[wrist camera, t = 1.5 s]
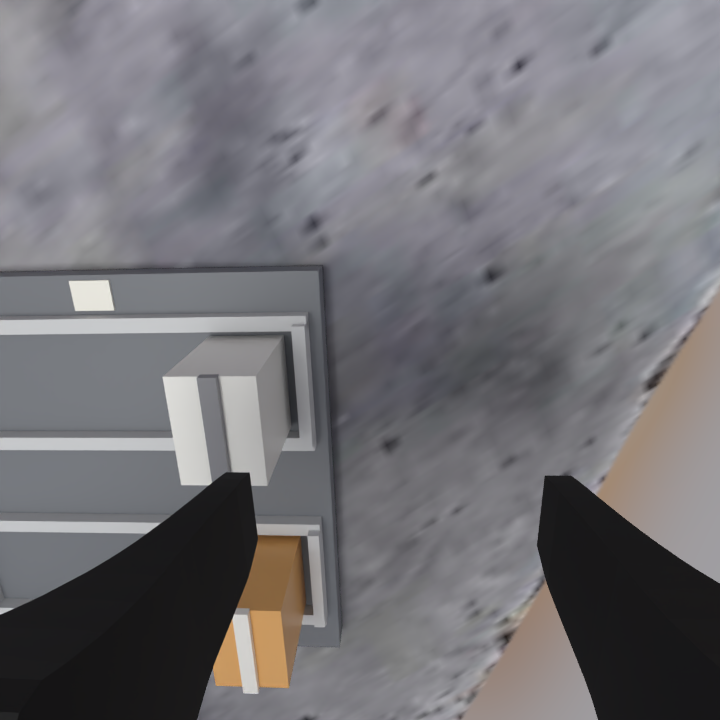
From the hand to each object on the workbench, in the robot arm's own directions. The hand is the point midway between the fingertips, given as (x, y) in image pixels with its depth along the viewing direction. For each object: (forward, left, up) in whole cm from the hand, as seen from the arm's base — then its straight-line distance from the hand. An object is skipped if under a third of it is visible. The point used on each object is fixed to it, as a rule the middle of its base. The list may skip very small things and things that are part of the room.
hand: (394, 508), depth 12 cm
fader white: (0, +6, -9) cm, 10 cm away
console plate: (-5, +14, -10) cm, 18 cm away
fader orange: (-10, +6, -9) cm, 14 cm away
